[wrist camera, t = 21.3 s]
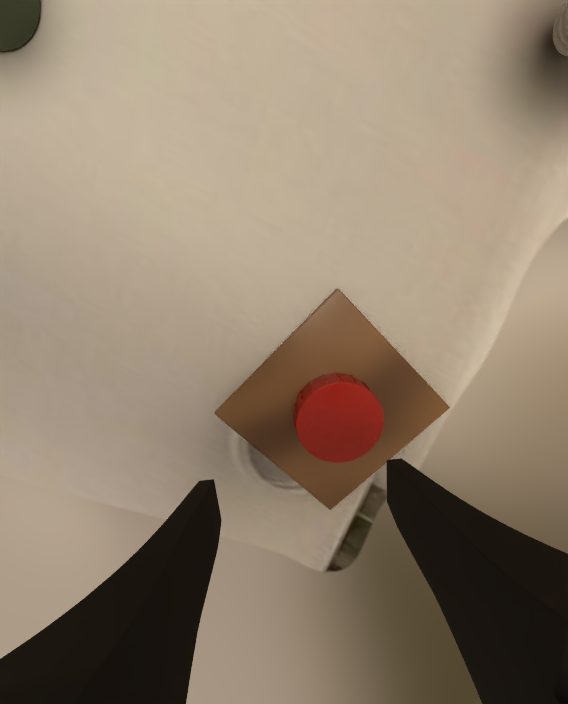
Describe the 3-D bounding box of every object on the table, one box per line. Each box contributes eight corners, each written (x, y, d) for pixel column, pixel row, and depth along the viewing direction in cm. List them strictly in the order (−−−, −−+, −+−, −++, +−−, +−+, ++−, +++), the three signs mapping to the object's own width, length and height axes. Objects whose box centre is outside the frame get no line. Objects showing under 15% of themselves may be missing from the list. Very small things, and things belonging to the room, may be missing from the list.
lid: (391, 406, 18) (403, 419, 16) (334, 461, 19) (340, 479, 17) (333, 354, 17) (340, 362, 15) (276, 415, 18) (276, 429, 16)
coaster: (215, 411, 18) (214, 413, 18) (336, 288, 16) (338, 288, 16) (329, 506, 20) (330, 510, 20) (446, 405, 19) (450, 407, 18)
